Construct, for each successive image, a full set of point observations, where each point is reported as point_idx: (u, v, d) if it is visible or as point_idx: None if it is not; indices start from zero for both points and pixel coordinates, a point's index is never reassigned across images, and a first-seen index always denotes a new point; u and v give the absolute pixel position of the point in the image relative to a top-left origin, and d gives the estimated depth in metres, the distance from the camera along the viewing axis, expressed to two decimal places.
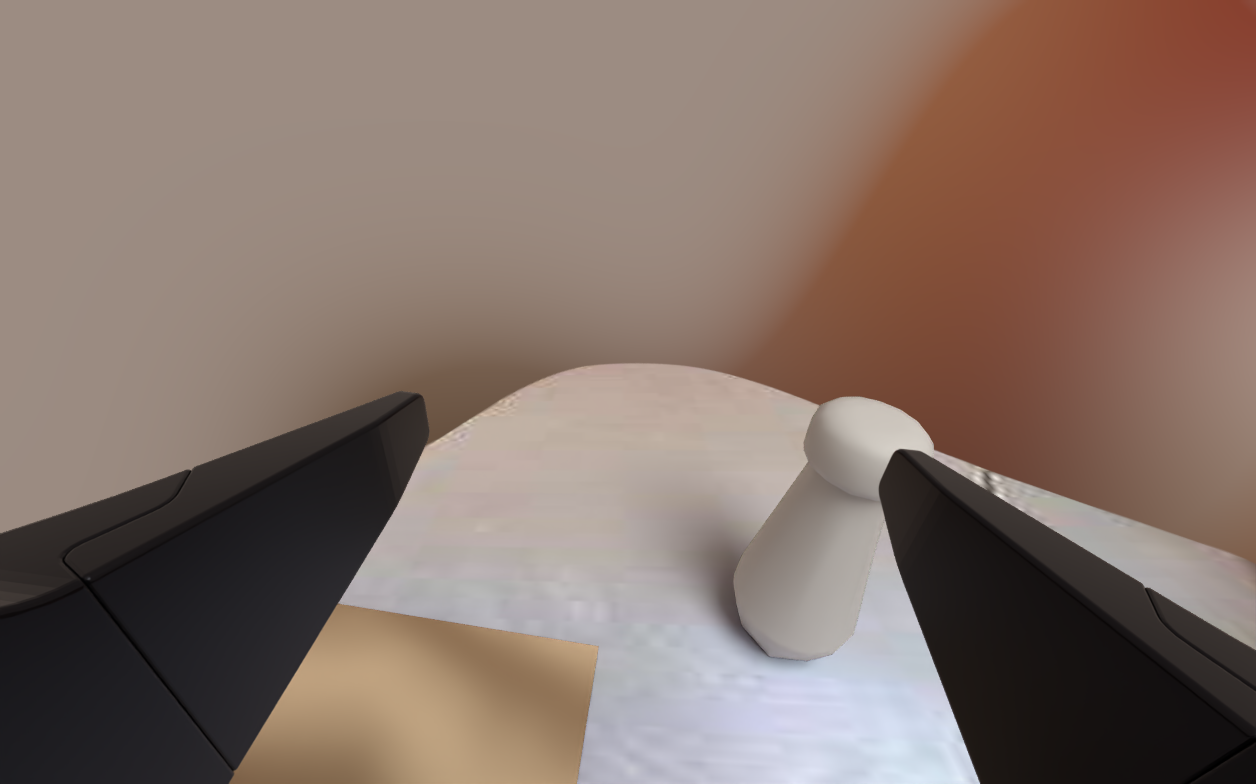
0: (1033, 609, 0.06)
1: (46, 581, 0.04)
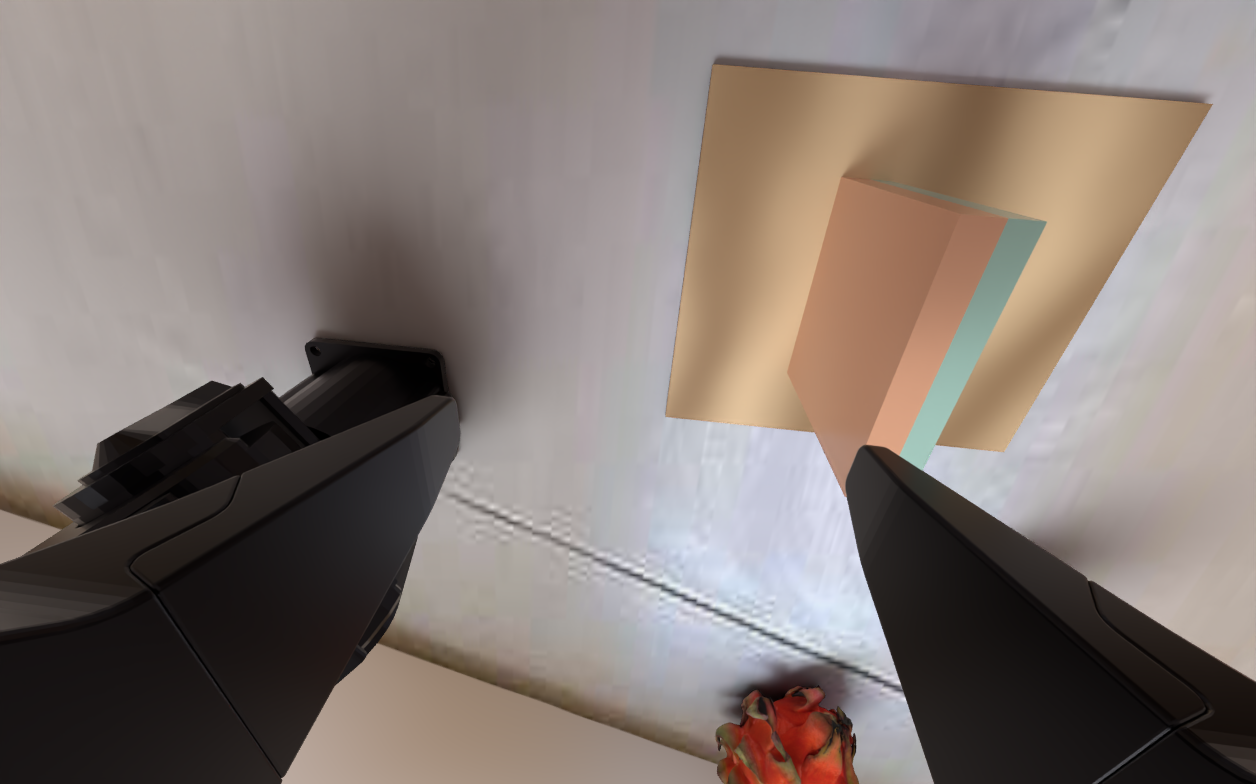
0: (979, 602, 0.06)
1: (114, 590, 0.04)
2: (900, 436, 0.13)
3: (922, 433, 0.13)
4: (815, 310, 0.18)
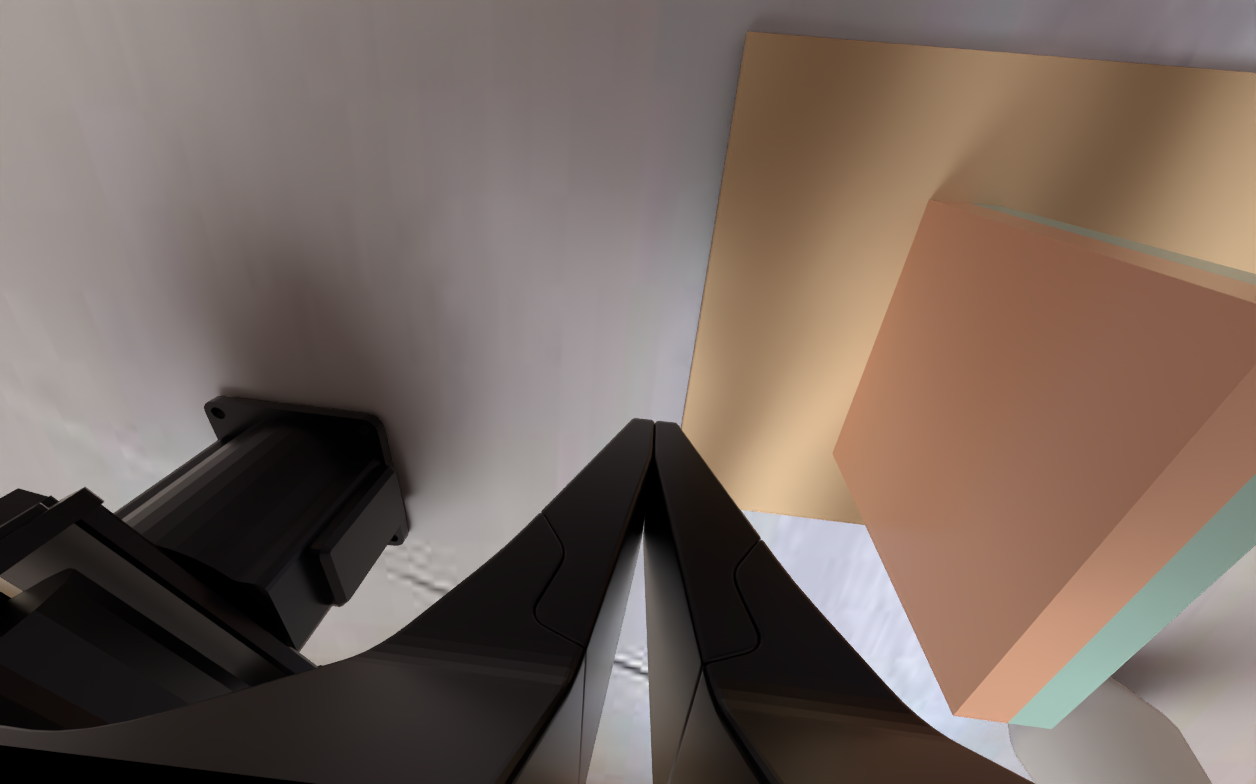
0: (668, 563, 0.06)
1: (552, 649, 0.04)
2: (1065, 651, 0.08)
3: (1104, 649, 0.07)
4: (882, 384, 0.13)
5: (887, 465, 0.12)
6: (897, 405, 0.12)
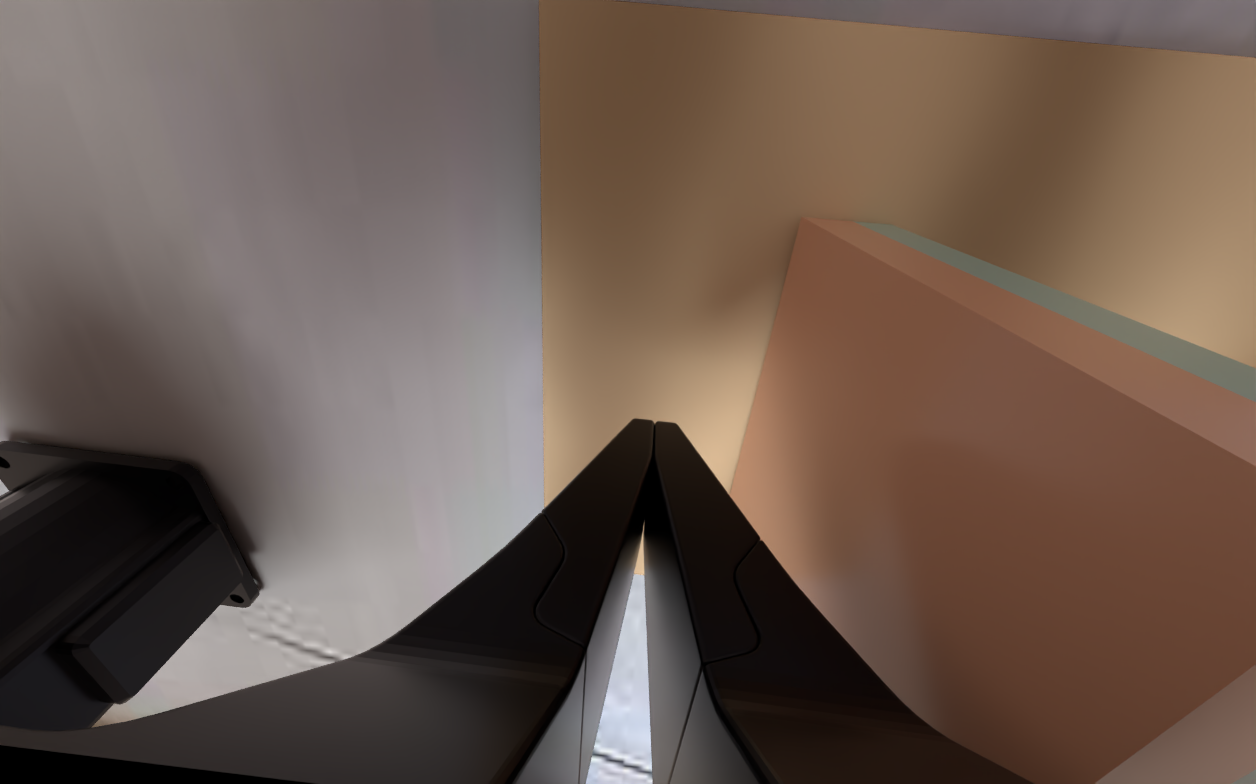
0: (668, 563, 0.06)
1: (552, 648, 0.04)
2: None
3: None
4: (763, 448, 0.10)
5: None
6: (777, 481, 0.09)
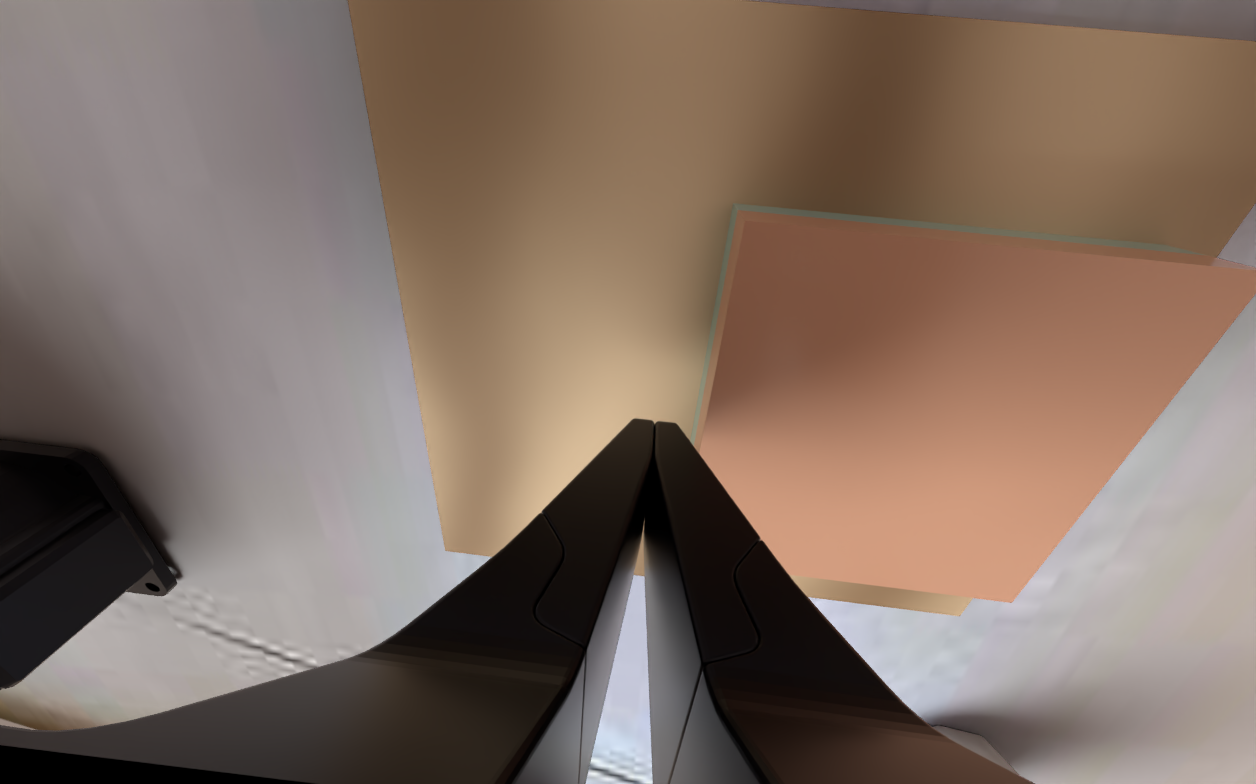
0: (668, 563, 0.06)
1: (552, 649, 0.04)
2: None
3: None
4: (760, 458, 0.10)
5: (823, 518, 0.10)
6: (811, 465, 0.10)
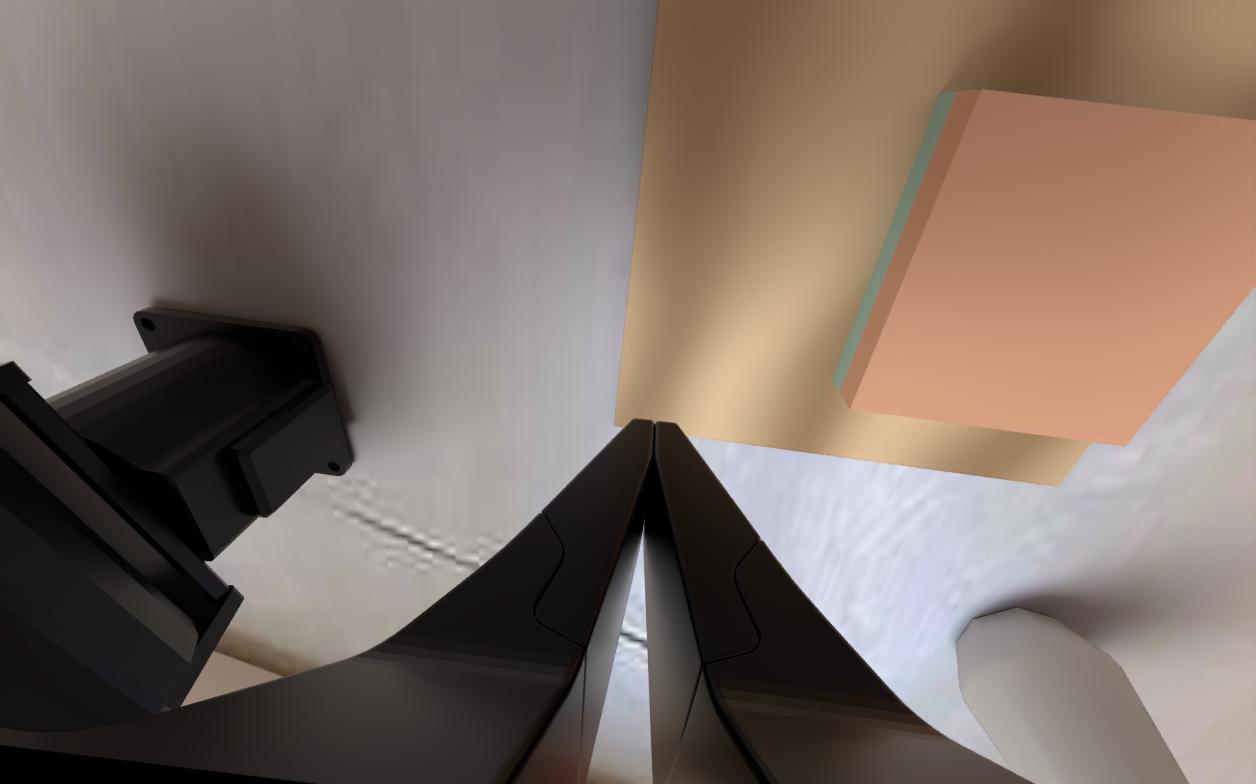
0: (668, 563, 0.06)
1: (553, 649, 0.04)
2: None
3: None
4: (944, 306, 0.12)
5: (984, 364, 0.13)
6: (984, 312, 0.12)
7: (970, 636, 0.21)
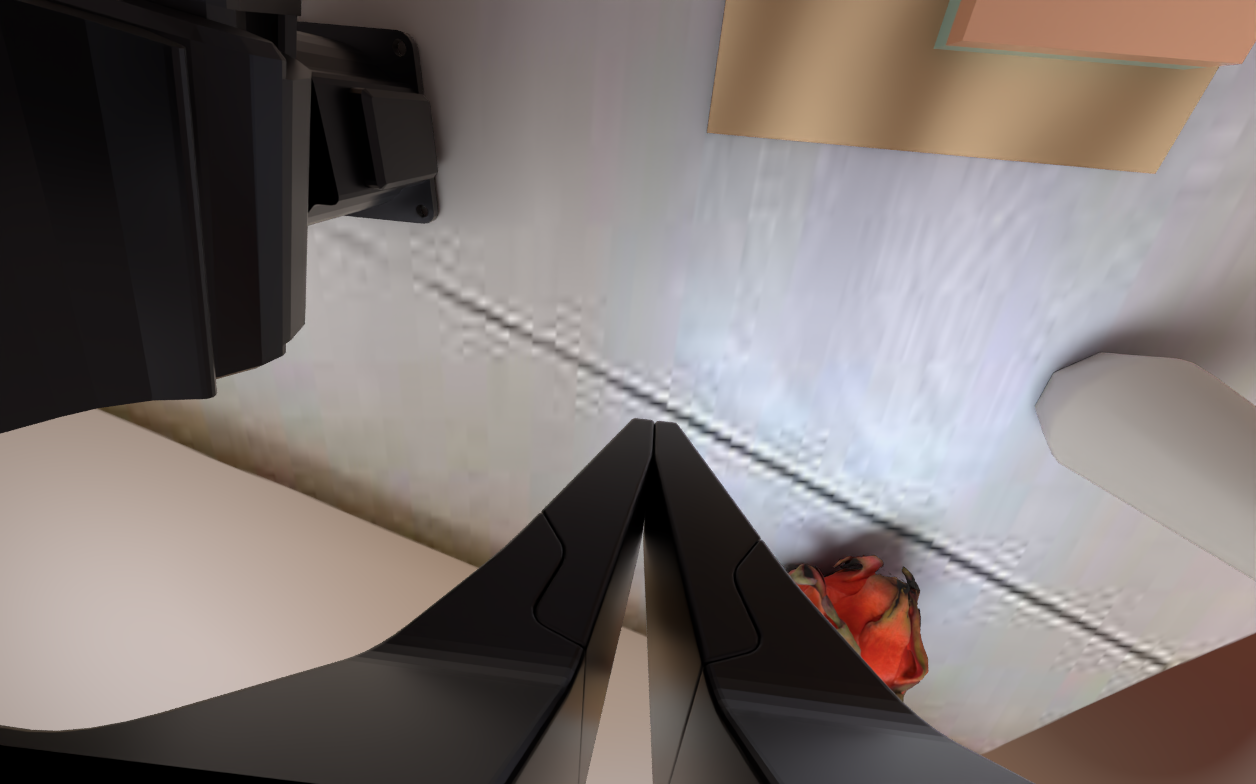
0: (668, 563, 0.06)
1: (552, 649, 0.04)
2: None
3: None
4: None
5: None
6: None
7: (1053, 386, 0.21)
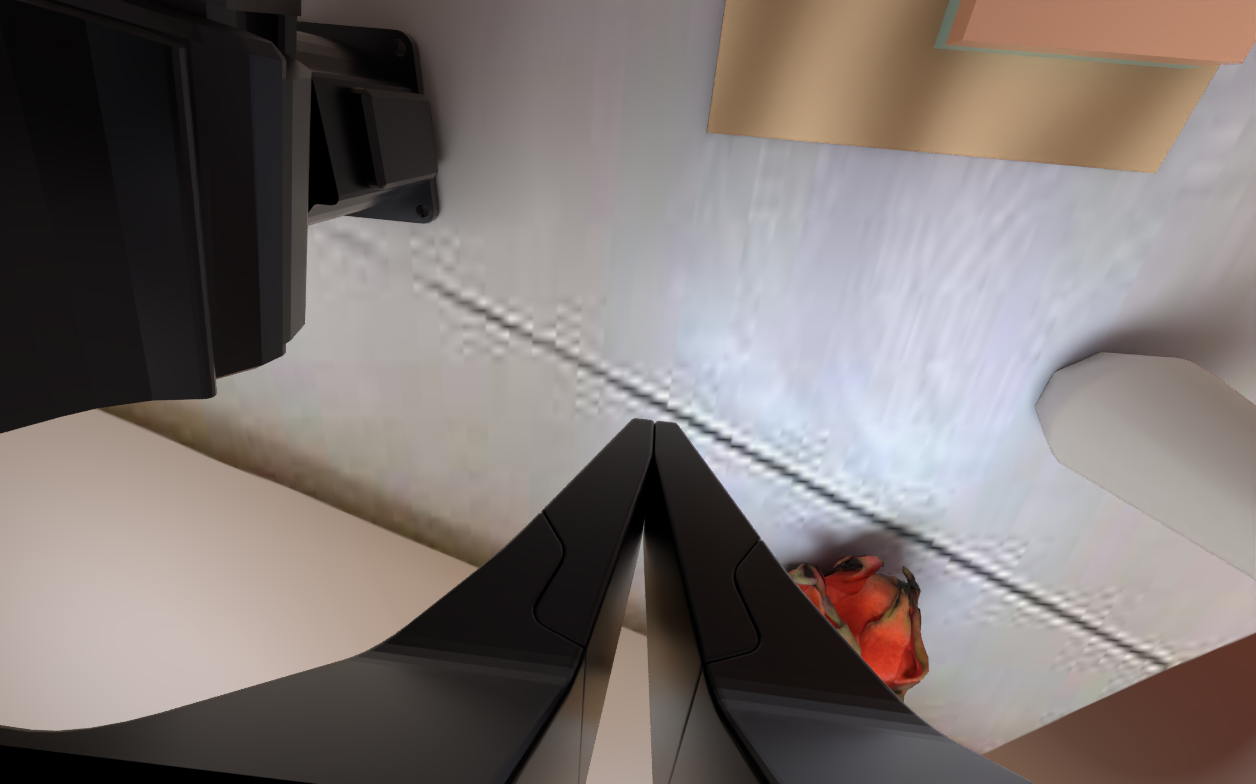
0: (668, 563, 0.06)
1: (552, 648, 0.04)
2: None
3: None
4: None
5: None
6: None
7: (1053, 386, 0.21)
